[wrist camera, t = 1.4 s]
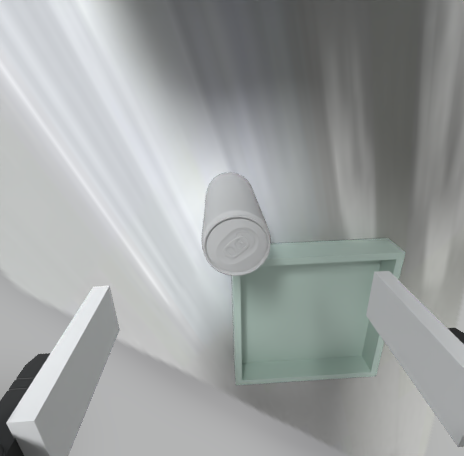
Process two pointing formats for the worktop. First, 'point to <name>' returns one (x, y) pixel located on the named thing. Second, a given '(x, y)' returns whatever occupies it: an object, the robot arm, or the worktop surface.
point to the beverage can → (234, 226)
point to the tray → (310, 311)
